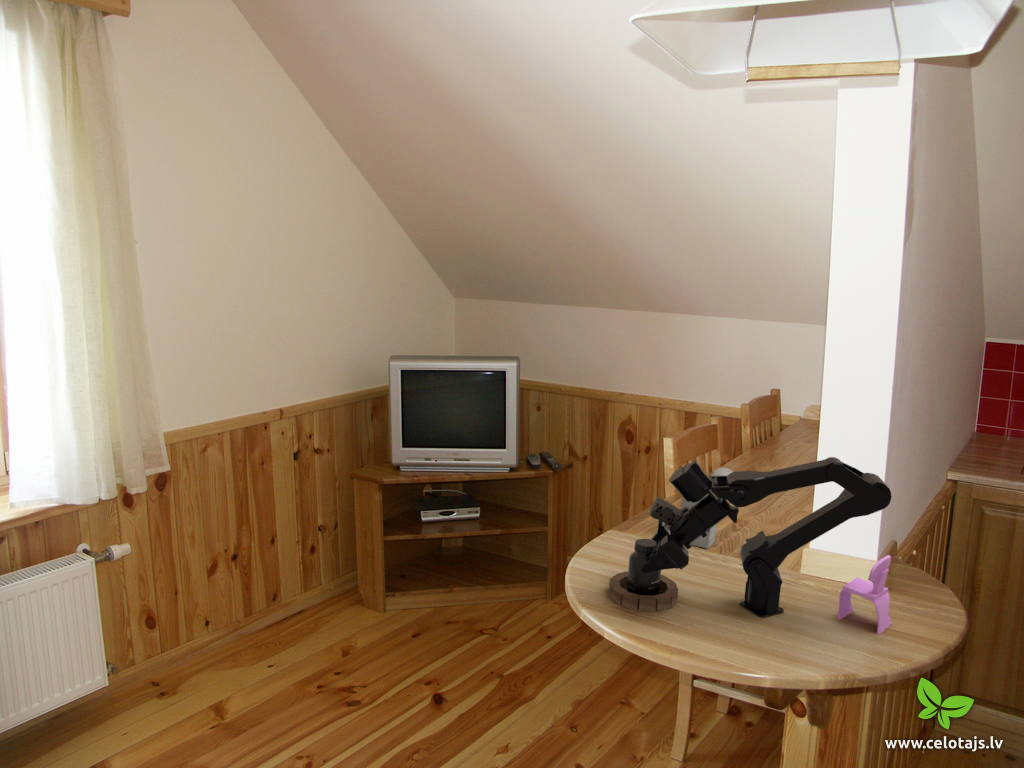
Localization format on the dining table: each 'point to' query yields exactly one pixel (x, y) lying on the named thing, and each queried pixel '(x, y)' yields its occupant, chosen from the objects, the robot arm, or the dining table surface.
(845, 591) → the toy chair
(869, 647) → the dining table surface
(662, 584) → the segmented ring
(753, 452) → the dining table surface
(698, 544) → the skincare box
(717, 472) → the chubby cartoon animal
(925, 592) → the dining table surface
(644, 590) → the supplement bottle
